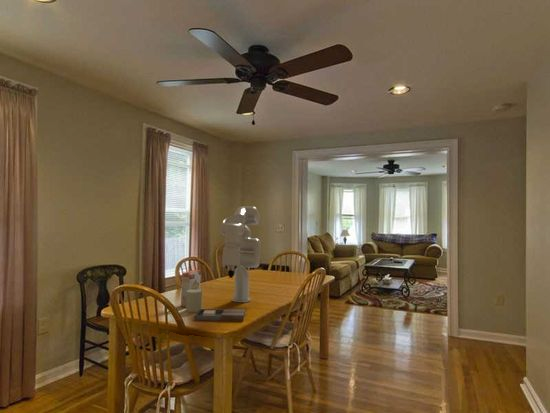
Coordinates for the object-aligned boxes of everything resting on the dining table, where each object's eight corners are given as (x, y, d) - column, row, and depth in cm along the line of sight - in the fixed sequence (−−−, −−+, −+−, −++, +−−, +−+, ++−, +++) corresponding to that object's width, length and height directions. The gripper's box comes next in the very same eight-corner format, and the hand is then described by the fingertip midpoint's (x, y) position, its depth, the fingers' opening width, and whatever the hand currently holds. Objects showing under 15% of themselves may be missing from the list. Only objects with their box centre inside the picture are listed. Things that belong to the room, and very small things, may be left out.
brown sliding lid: (224, 313, 198) (224, 308, 198) (245, 314, 198) (245, 308, 199) (220, 320, 184) (221, 315, 184) (243, 321, 184) (243, 315, 185)
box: (199, 313, 198) (199, 308, 198) (223, 313, 198) (224, 309, 198) (194, 320, 184) (194, 315, 184) (220, 320, 184) (220, 316, 184)
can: (202, 308, 210) (202, 288, 210) (201, 312, 201) (201, 291, 201) (186, 308, 209) (187, 288, 209) (185, 312, 199) (185, 291, 200)
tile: (215, 310, 194) (215, 314, 194) (204, 310, 194) (204, 314, 194) (214, 313, 188) (213, 317, 188) (203, 313, 188) (202, 317, 188)
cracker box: (189, 307, 210) (189, 273, 211) (180, 306, 212) (181, 272, 212) (200, 302, 223) (201, 270, 224) (192, 301, 225) (193, 269, 226)
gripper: (245, 244, 201) (244, 276, 201) (219, 244, 201) (219, 275, 201) (243, 246, 193) (243, 279, 193) (217, 246, 194) (216, 278, 194)
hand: (231, 277), depth 197 cm, fingers closed
